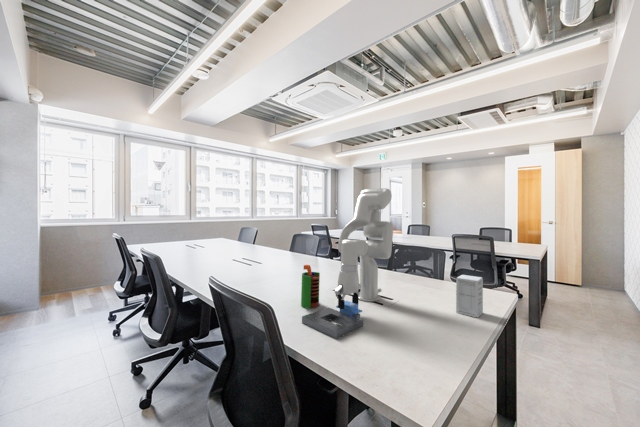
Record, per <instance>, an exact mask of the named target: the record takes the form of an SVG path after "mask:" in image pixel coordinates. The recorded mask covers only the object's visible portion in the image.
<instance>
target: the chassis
mask: <svg viewBox="0 0 640 427" xmlns="http://www.w3.org/2000/svg"><path fill="white" fill-rule="evenodd" d="M330 321H334V322H336V323H333V322H330ZM301 323H302V324H304V325H305V326H308V327H310V328H312V329H314V330H316V331H318V332H321V333H323V334H325V335H327V336H330V337H331V338H333V339H336V340H337V339H341V338H342V337H344V336H347V335H349V334H351V333H354V332H355V331H357V330H359V329H363V328H364V319H361V318H360V319H358V318H356V317H353V316H350V315H348V314H345V313H342V312H340V310H337V309H334V308H330V307H326V308H324V309H320V310H317V311H315V312H312V313H308V314H306V315H302V316H301Z"/></svg>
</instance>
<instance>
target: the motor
mask: <svg viewBox="0 0 640 427" xmlns="http://www.w3.org/2000/svg"><path fill="white" fill-rule="evenodd" d="M303 270H306V272H302V273H301V291H300V292H301V294H300V296H301V297H300V298H301V299H300V307H302V308H304V309H312V308H313V309H315V308H318V307H320V274H321V273H320V272H318V271H312V268H311V265H309V264H304V265H303Z"/></svg>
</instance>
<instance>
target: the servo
mask: <svg viewBox="0 0 640 427" xmlns="http://www.w3.org/2000/svg"><path fill="white" fill-rule="evenodd" d="M344 301H345V303H344V309H341V308H338V305H336V306H335V308H337V309H339V312H342V313H345V314H348V315H350V316H353V317H356V318H358V319H361V313H362V312H363V310H362V309H360V308H359V303H358V304H355V303H352V302H351V301H349V300H344Z"/></svg>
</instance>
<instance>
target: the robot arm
mask: <svg viewBox="0 0 640 427" xmlns="http://www.w3.org/2000/svg"><path fill="white" fill-rule="evenodd" d="M391 200H392V191H391V190H390V189H389V188H365V189H362V190H361V191H360V192H359V195H358V197H357V198H356V203H355V208H354V214H353V217H352V219H351V220H350V221H348V222H347V224H345V225H344V227H343V228H342V230H341V232H340V234H339V239H338V243H337V247H338V248H337V249H338V252H339V253H340V256H341V257H340V262H341V263H340V271H339V274H338V279H337V287H336V288H335V289H334V293H335V297H336V299H338V300H337V302H338V304H337V306H338V308H337V309H340V308H341V309H344V303H345V301H346V300H345V297H346V296H348V295H349V296H350V295H352V296H351V297H352V303H355V304H358V305H359V301H363V302H367V303H368V302H372V303H373V302H378V301H380V300H381V295H380V294H379V293H381V292H382V291H383V290H382V289H381V288H379V287H378V280H379V278H378V276H379V266H378V263H377V261H376V260H375V259H377V260H378V259H380V260H388V259H390V258H391V257H392V249H393V248H392V247H393V236H394V227H393V224H392V223H391V222H390V221H386V220H385V221H384V220H381V211H380V210H384V209H385V208H386V207H387V206H388V205H389V204H390V203H391ZM361 228H363V232H362V233H363V236H364V237H366V238H368V239H356V238H355V239H354V238H349V237H350V235H351V234H352V233H353V232H356V231H358V230H360V229H361ZM369 238H370V239H369ZM371 239H372V240H371ZM373 239H375V240H373ZM376 239H380V240H376ZM381 239H382V240H381ZM358 262H359V263H358ZM358 268H359V270H358ZM358 271H359V272H358Z"/></svg>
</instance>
